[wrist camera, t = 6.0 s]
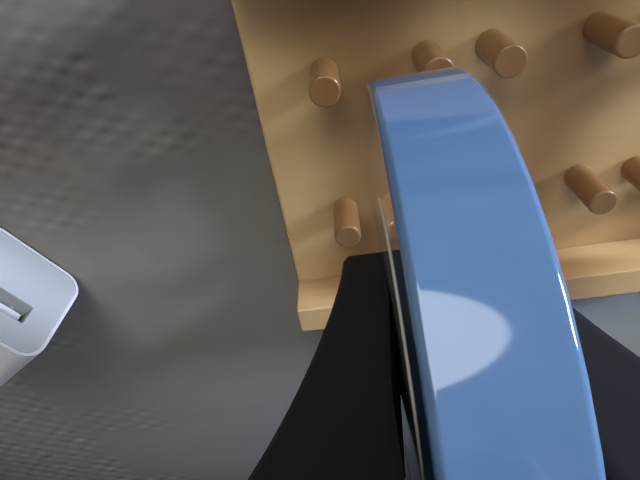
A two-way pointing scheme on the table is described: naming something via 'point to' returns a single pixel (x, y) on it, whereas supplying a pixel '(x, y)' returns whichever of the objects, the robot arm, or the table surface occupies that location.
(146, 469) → the table surface
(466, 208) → the plate
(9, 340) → the usb wall charger
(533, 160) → the rack
